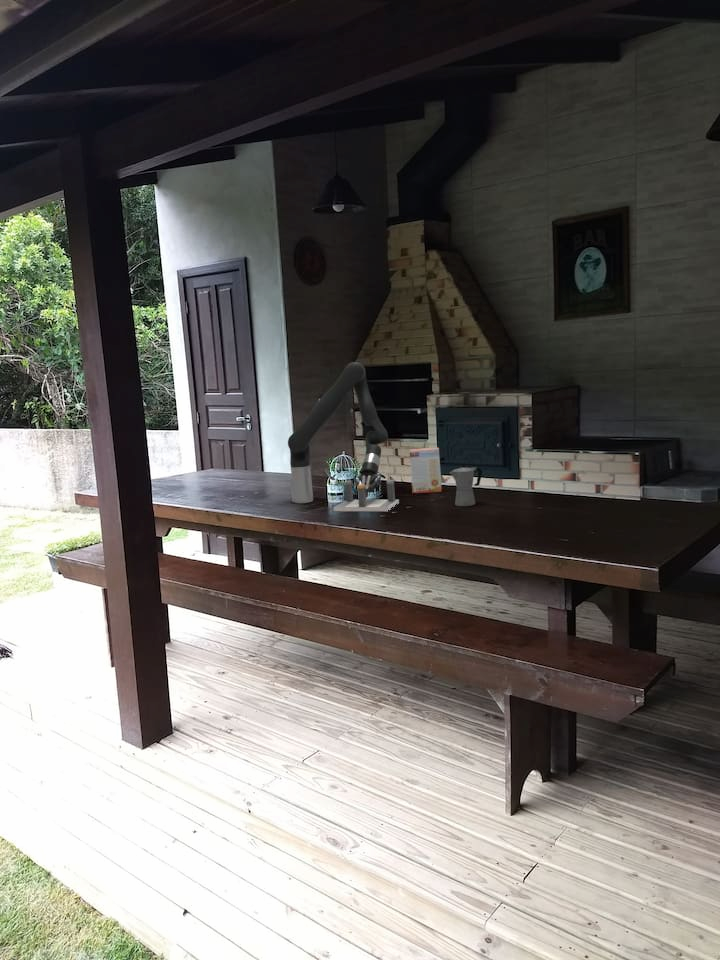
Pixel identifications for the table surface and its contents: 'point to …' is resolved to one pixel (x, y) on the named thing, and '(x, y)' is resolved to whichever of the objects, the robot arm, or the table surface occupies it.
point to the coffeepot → (465, 484)
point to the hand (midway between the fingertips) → (363, 497)
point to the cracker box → (425, 470)
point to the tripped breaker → (361, 494)
